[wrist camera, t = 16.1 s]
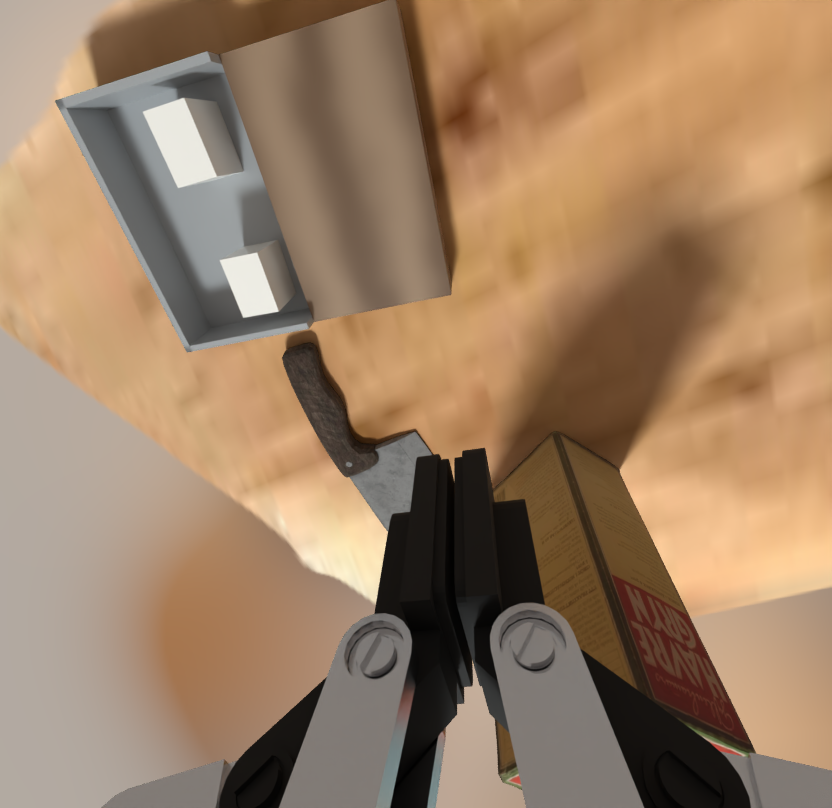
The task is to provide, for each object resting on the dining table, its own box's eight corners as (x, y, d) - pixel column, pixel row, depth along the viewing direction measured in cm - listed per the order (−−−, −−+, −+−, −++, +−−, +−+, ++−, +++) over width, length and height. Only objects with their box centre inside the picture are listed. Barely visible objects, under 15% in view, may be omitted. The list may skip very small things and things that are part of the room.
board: (400, 9, 29) (395, -3, 26) (451, 283, 38) (451, 294, 35) (238, 60, 31) (218, 54, 28) (323, 309, 40) (313, 321, 37)
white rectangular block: (184, 97, 28) (142, 111, 28) (216, 176, 30) (178, 188, 31) (216, 101, 32) (179, 113, 32) (243, 171, 34) (208, 181, 34)
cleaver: (265, 357, 43) (257, 367, 41) (352, 315, 40) (347, 324, 38) (408, 550, 56) (406, 564, 54) (481, 529, 53) (481, 543, 51)
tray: (238, 60, 31) (207, 51, 27) (323, 309, 40) (308, 328, 36) (101, 104, 33) (54, 100, 29) (211, 331, 42) (187, 352, 38)
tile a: (257, 252, 32) (219, 260, 33) (278, 311, 35) (243, 317, 35) (278, 239, 36) (244, 246, 37) (296, 293, 39) (264, 299, 39)
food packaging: (539, 542, 53) (596, 821, 31) (473, 507, 51) (487, 781, 29) (624, 470, 46) (768, 759, 25) (553, 426, 44) (645, 702, 23)
